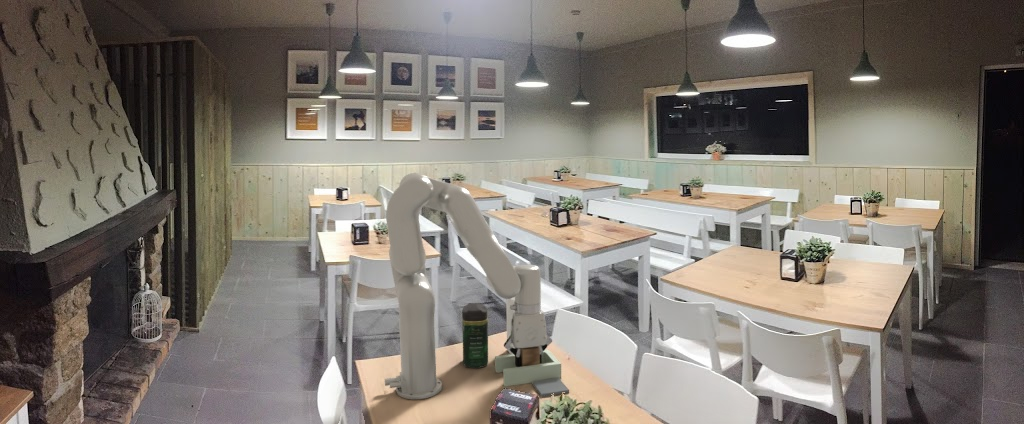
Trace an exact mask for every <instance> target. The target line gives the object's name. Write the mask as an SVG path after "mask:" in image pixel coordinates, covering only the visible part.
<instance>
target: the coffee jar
mask: <svg viewBox="0 0 1024 424" xmlns="http://www.w3.org/2000/svg"><path fill="white" fill-rule="evenodd" d="M461 312H462V313H461V314H462V316H461V317H462V318H461V321H462V363H463V366H464V367H466V368H471V369H479V368H482V367H486V366H487V365H488V363H489V321H488V319H489V318H488V317H489V316H488V308H487V306H485V305H484V304H482V303H481V302H469V303H467V304H466V305H465V306H463V307H462V311H461Z"/></svg>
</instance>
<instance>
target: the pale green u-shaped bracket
mask: <svg viewBox="0 0 1024 424" xmlns="http://www.w3.org/2000/svg"><path fill="white" fill-rule="evenodd" d="M494 371H495V373H498V374H499V373H502V374H503V377H502V378H503V381H502V382H503V384H502V385H503V386H504V387H511V386H518V385H525V384H532V381H539V380H546V379H553V378H559V379H560V380H561V379H562V363H561V362H560V361H559V360H558V358H557V357H556V356H555V355H554V354H553V352H551V351H550V350H549V349H545V350H544V351H543V354H542V363H540V364H538V365H530V366H523V367H516V365H515V355H514V354H510V353H509V354H504V355H496V356H494Z"/></svg>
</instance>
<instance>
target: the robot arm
mask: <svg viewBox="0 0 1024 424" xmlns="http://www.w3.org/2000/svg"><path fill="white" fill-rule="evenodd" d="M423 207H425V208H429V209H432V210H437V211H441V212H444V213H445V214H446V215H447V217H448V220H449V221H450V222H451V224H452V225H453V227H454V230H455V231H456V233H457V235H458V236H459V238H460V240H461V242H462V243H463V245H464V247H465V248H466V249H467V251H468V252H469V254H470V255H471V256H472V257H473V258H474V259H475V261H476V262H477V263H478V264H479V266H480V268H482V270H483V272H484V273H485V277H486V283H487V284H488V286H489V287H490V288H491V289H492V290H493V291H494V293H495V294H496V295H497V296H499V297H500V298H502V299H505V300H506V299H510V298H513V297H515V302H514V305H510V309H511V310H515V311H514V312H513V315H512V321H511V331H510V337H509V338H508V339H507V338H506V340H505V342H504V344H503V347H504V348H505V349H506V350H507V349H508V350H509V351H511V352H512V353H513V354H514V355H515V365H516V367H522V357H521V349H522V348H531V347H539V348H540V363H542V354H543V351H544V350H547V348H548V346H550V344H551V343H553V339H552V338H551V337H550V336H549V335H548V333H547V324H546V323H547V322H546V317H545V316H546V315H545V312H544V311H543V310H542V309H541V307H542V306H541V305H542V304H541V303H542V302H541V301H542V300H541V299H542V297H541V295H542V293H541V292H542V291H541V290H542V289H541V286H542V283H541V279H542V278H541V273H542V272H541V269H540V267H539V266H538V265H535V264H529V263H528V264H520V265H513V263H512V262H511V260H510V258H509V257H508V255H507V253H506V252H505V250H504V249H503V248H502V246H501V244H500V243H499V241H498V239H497V237H496V236H495V234H494V232H493V231H492V229H491V227H490V226H489V224H488V222H487V220H486V219H485V217H484V214H483V213H482V211H481V209H480V208H479V206H478V204H477V203H476V201H475V199H474V197H473V196H472V194H471V193H470V191H469V190H468V189H466V188H465V187H462V186H460V185H459V184H458V185H457V184H453V183H449V182H447V181H443V180H440V179H436V178H433V177H430V176H428V175H424V174H421V173H418V172H417V173H416V172H412V173H408V174H406V175H405V176H404V177H402V179H401V180H400V182H399V185H398V187H397V188H396V189H395V191H393V193H392V195H391V196H390V198H389V200H388V203H387V206H386V212H385V218H386V226H387V228H386V229H387V235H388V241H389V245H390V246H389V250H388V253H389V254H388V256H389V260H390V261H389V262H390V266H391V272H392V278H393V282H394V287H395V292H396V297H397V301H398V326H399V329H398V330H399V343H400V344H399V345H400V348H399V349H400V369H401V371H400V372H399V375H396V376H395V377H388V378H387V377H386V378H384V386H389V388H390V389H394V388H396V391H395V392H396V393H397V395H398V396H399V397H401V398H403V399H407V400H425V399H429V398H431V397H435V396H436V395H438V394H439V393H440V392H441V391H442V390H443V382H442V381H441V380H440V379H439V378H437V364H436V362H437V361H436V359H437V357H436V331H435V312H436V309H435V308H436V298H435V292H434V290H433V287H432V285H431V284H430V282H429V279H428V274H427V269H426V261H427V255H426V251H425V250H426V249H425V247H424V244H423V239H422V233H421V225H420V212H421V211H422V209H423ZM511 343H513V346H514V347H515V348H513V347H512V346H510V345H511ZM508 350H507V351H508Z"/></svg>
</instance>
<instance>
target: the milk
mask: <svg viewBox="0 0 1024 424" xmlns="http://www.w3.org/2000/svg"><path fill="white" fill-rule="evenodd" d="M505 300H506V301H505V302H506V303H505V304H506V305H505V307H506V308H505V309H506V340H507V339H508V338H509V337H510V331H511V321H512V315H513V312H514V311H515V310H511V309H510V305H514V302H515V297H513V298H510V299H505ZM510 346H512V347H513V348H515V347H514V346H513V343H511V345H510ZM506 350H507V352H508V354H509V355H510V354H513V353H512V352H511V351H509V350H508V349H506Z"/></svg>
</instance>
